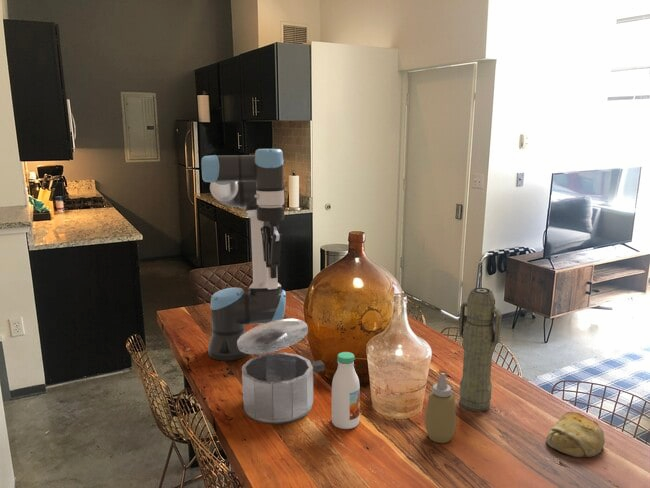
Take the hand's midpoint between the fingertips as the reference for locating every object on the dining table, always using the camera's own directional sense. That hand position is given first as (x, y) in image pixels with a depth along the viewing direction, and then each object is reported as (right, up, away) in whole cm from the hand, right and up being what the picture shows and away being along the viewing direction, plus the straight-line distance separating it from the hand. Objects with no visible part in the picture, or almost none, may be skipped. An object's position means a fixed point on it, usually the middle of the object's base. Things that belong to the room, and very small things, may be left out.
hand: (272, 288), depth 147 cm
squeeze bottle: (+45, -38, -11) cm, 60 cm away
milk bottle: (+21, -37, -4) cm, 42 cm away
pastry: (+79, -39, -14) cm, 89 cm away
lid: (0, -15, +4) cm, 16 cm away
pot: (+3, -35, +6) cm, 35 cm away
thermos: (+59, -35, +6) cm, 69 cm away
